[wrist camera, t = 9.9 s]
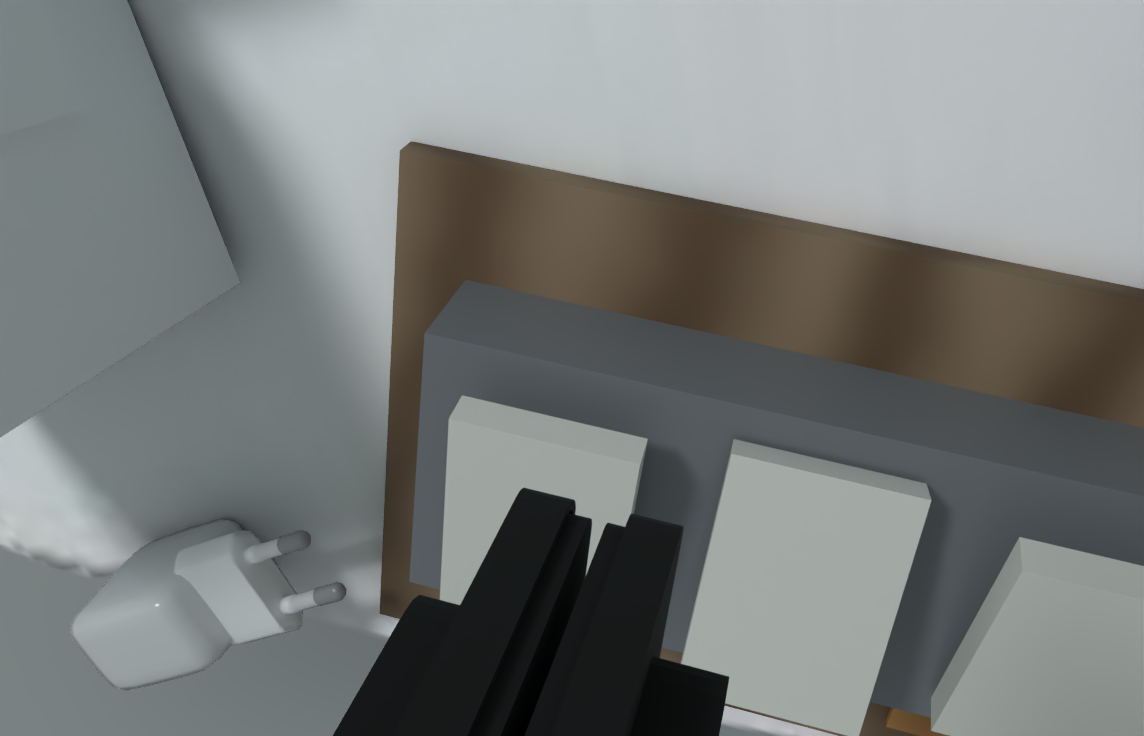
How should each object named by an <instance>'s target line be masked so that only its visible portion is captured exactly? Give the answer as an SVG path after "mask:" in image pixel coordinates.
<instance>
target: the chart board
mask: <svg viewBox="0 0 1144 736" xmlns="http://www.w3.org/2000/svg"><path fill="white" fill-rule="evenodd" d="M465 280H470V281H474V282H479V283H483V284H488V285H493V286H497V287H502V288H506V289H511V290H515V291H520V292H525V293H529V294H534V295H538V296H543V297H547V298H552V299H557V300H561V301H566V302H570V303H575V304H579V305H584V306H589V307H593V308H598V309H602V310H607V311H611V312H616V313H621V314H625V315H630V316H634V317H639V318H643V319H648V320H653V321H657V322H662V323H666V324H671V325H675V326H680V327H684V328H689V329H694V330H698V331H703V332H707V333H712V334H716V335H721V336H726V337H730V338H735V339H739V340H744V341H748V342H753V343H758V344H762V345H767V346H771V347H776V348H780V349H785V350H790V351H794V352H799V353H803V354H808V355H812V356H817V357H822V358H826V359H831V360H835V361H840V362H844V363H849V364H854V365H858V366H863V367H867V368H872V369H876V370H881V371H886V372H890V373H895V374H899V375H904V376H908V377H913V378H917V379H922V380H927V381H931V382H936V383H940V384H945V385H949V386H954V387H959V388H963V389H968V390H972V391H977V392H981V393H986V394H991V395H995V396H1000V397H1004V398H1009V399H1013V400H1018V401H1023V402H1027V403H1032V404H1036V405H1041V406H1045V407H1050V408H1055V409H1059V410H1064V411H1068V412H1073V413H1077V414H1082V415H1087V416H1091V417H1096V418H1100V419H1105V420H1109V421H1114V422H1119V423H1123V424H1128V425H1132V426H1137V427H1141V428H1144V289H1139V288H1134V287H1129V286H1124V285H1119V284H1114V283H1109V282H1104V281H1099V280H1094V279H1089V278H1084V277H1079V276H1074V275H1069V274H1064V273H1060V272H1055V271H1050V270H1045V269H1040V268H1035V267H1030V266H1025V265H1020V264H1015V263H1010V262H1005V261H1000V260H995V259H990V258H985V257H980V256H975V255H970V254H966V253H961V252H956V251H951V250H946V249H941V248H936V247H931V246H926V245H921V244H916V243H911V242H906V241H901V240H896V239H891V238H886V237H881V236H876V235H871V234H867V233H862V232H857V231H852V230H847V229H842V228H837V227H832V226H827V225H822V224H817V223H812V222H807V221H802V220H797V219H792V218H787V217H782V216H777V215H773V214H768V213H763V212H758V211H753V210H748V209H743V208H738V207H733V206H728V205H723V204H718V203H713V202H708V201H703V200H698V199H693V198H688V197H683V196H679V195H674V194H669V193H664V192H659V191H654V190H649V189H644V188H639V187H634V186H629V185H624V184H619V183H614V182H609V181H604V180H599V179H594V178H589V177H585V176H580V175H575V174H570V173H565V172H560V171H555V170H550V169H545V168H540V167H535V166H530V165H525V164H520V163H515V162H510V161H505V160H500V159H495V158H490V157H486V156H481V155H476V154H471V153H466V152H461V151H456V150H451V149H446V148H441V147H436V146H431V145H426V144H421V143H416V142H410V143H409V144H407V145H406V146H405V147H404V148H403V149H401V150H400V162H399V185H398V208H397V231H396V254H395V277H394V300H393V323H392V346H391V369H390V392H389V414H388V437H387V460H386V483H385V506H384V529H383V552H382V575H381V598H380V614H383V615H387V616H391V617H394V618H398V619H401V617H402V615H403V613H404V612H405V610H406V609H407V607H408V606H409V604H410V603H411V602H412V600H413V599H414V598H416V597H417V596H418V595H423V596H427V597H431V598H435V599H438V600H440V590H439V589H435V588H431V587H427V586H424V585H420V584H416V583H412V582H409V579H410V562H411V546H412V530H413V513H414V497H415V481H416V465H417V448H418V432H419V416H420V399H421V383H422V367H423V350H424V334H425V332H426V330H427V329H428V328H429V327H430V325H431V324H432V323H433V321H434V320H435V319H436V318H437V316H438V315H439V314H440V312H441V311H442V310H443V308H444V307H445V306H446V305H447V303H448V302H449V301H450V299H451V298H452V297H453V295H454V294H455V293H456V292H457V290H458V289H459V288H460V286H461V285H462V284H463V283H464V281H465ZM682 655H683V653H681V652H677V651H673V650H669V649H665V648H661V653H660V658H661V659H665V660H669V661H673V662H676V663H681V659H682ZM725 706H729V707H733V708H737V709H740V710H744V711H748V712H752V713H755V714H759V715H763V716H767V717H770V718H774V719H778V720H782V721H785V722H789V723H793V724H797V725H800V726H804V727H808V728H812V729H815V730H819V731H823V732H827V733H830V734H834V735H838V736H846V735H843V734H839V733H835V732H831V731H828V730H824V729H820V728H816V727H813V726H809V725H805V724H801V723H798V722H794V721H790V720H786V719H782V718H779V717H775V716H771V715H767V714H764V713H760V712H756V711H752V710H749V709H745V708H741V707H737V706H734V705H730V704H726V703H725ZM859 736H949V735H945V734H941V733H937V732H934V731H931V718H930V717H926V716H922V715H918V714H915V713H911V712H907V711H903V710H899V709H895V708H892V707H888V706H884V705H880V704H876V703H872V702H869V705H868V708H867V711H866V715H865V718H864V721H863V724H862V728H861V731H860V734H859Z"/></svg>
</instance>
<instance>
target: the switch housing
mask: <svg viewBox="0 0 1144 736" xmlns="http://www.w3.org/2000/svg"><path fill="white" fill-rule="evenodd" d="M462 395H463V396H467V397H472V398H476V399H480V400H484V401H489V402H493V403H497V404H502V405H506V406H510V407H514V408H519V409H523V410H527V411H531V412H536V413H540V414H544V415H548V416H553V417H557V418H561V419H566V420H570V421H574V422H578V423H583V424H587V425H591V426H595V427H600V428H604V429H608V430H613V431H617V432H621V433H625V434H630V435H634V436H638V437H642V438H647V439H648V441H647V446H646V451H645V457H644V462H643V467H642V473H641V478H640V483H639V489H638V494H637V499H636V505H635V510H634V514H635V515H640V516H644V517H648V518H652V519H656V520H660V521H664V522H669V523H673V524H677V525H681V526H683V527H684V528H683V535H682V541H681V547H680V552H679V557H678V563H677V568H676V573H675V579H674V584H673V589H672V595H671V600H670V605H669V611H668V616H667V621H666V627H665V632H664V637H663V643H662V648H665V649H669V650H673V651H677V652H681V653H683V651H684V646H685V642H686V638H687V634H688V630H689V625H690V621H691V617H692V613H693V608H694V604H695V600H696V596H697V592H698V587H699V583H700V579H701V575H702V570H703V566H704V562H705V558H706V554H707V549H708V545H709V541H710V537H711V533H712V528H713V524H714V520H715V516H716V511H717V507H718V503H719V499H720V495H721V490H722V486H723V482H724V478H725V473H726V469H727V465H728V461H729V457H730V452H731V448H732V444H733V440H734V439H736V440H741V441H745V442H749V443H754V444H758V445H762V446H767V447H771V448H775V449H780V450H784V451H788V452H792V453H797V454H801V455H805V456H810V457H814V458H818V459H823V460H827V461H831V462H836V463H840V464H844V465H849V466H853V467H857V468H862V469H866V470H870V471H874V472H879V473H883V474H887V475H892V476H896V477H900V478H905V479H909V480H913V481H918V482H922V483H926V484H927V487H928V490H929V494H930V497H931V504H930V507H929V510H928V513H927V517H926V520H925V523H924V526H923V530H922V533H921V536H920V539H919V543H918V546H917V549H916V552H915V556H914V559H913V562H912V565H911V569H910V572H909V575H908V578H907V582H906V585H905V588H904V591H903V595H902V598H901V601H900V604H899V608H898V611H897V614H896V617H895V621H894V624H893V627H892V630H891V634H890V637H889V640H888V643H887V647H886V650H885V653H884V656H883V660H882V663H881V666H880V669H879V673H878V676H877V679H876V682H875V685H874V689H873V692H872V695H871V698H870V702H872V703H876V704H880V705H884V706H888V707H892V708H895V709H899V710H903V711H907V712H911V713H915V714H918V715H922V716H926V717H930V718H931V697H932V695H933V693H934V691H935V690H936V688H937V686H938V684H939V682H940V681H941V679H942V677H943V675H944V673H945V671H946V670H947V668H948V666H949V664H950V662H951V661H952V659H953V657H954V655H955V653H956V651H957V650H958V648H959V646H960V644H961V642H962V641H963V639H964V637H965V635H966V633H967V631H968V630H969V628H970V626H971V624H972V622H973V621H974V619H975V617H976V615H977V613H978V611H979V610H980V608H981V606H982V604H983V602H984V601H985V599H986V597H987V595H988V593H989V591H990V590H991V588H992V586H993V584H994V582H995V581H996V579H997V577H998V575H999V573H1000V571H1001V570H1002V568H1003V566H1004V564H1005V562H1006V561H1007V559H1008V557H1009V555H1010V553H1011V551H1012V550H1013V548H1014V546H1015V544H1016V542H1017V541H1018V539H1019V537H1022V538H1026V539H1031V540H1035V541H1039V542H1043V543H1048V544H1052V545H1056V546H1060V547H1065V548H1069V549H1073V550H1077V551H1082V552H1086V553H1090V554H1094V555H1099V556H1103V557H1107V558H1111V559H1116V560H1120V561H1124V562H1128V563H1133V564H1137V565H1141V566H1144V428H1141V427H1137V426H1132V425H1128V424H1123V423H1119V422H1114V421H1109V420H1105V419H1100V418H1096V417H1091V416H1087V415H1082V414H1077V413H1073V412H1068V411H1064V410H1059V409H1055V408H1050V407H1045V406H1041V405H1036V404H1032V403H1027V402H1023V401H1018V400H1013V399H1009V398H1004V397H1000V396H995V395H991V394H986V393H981V392H977V391H972V390H968V389H963V388H959V387H954V386H949V385H945V384H940V383H936V382H931V381H927V380H922V379H917V378H913V377H908V376H904V375H899V374H895V373H890V372H886V371H881V370H876V369H872V368H867V367H863V366H858V365H854V364H849V363H844V362H840V361H835V360H831V359H826V358H822V357H817V356H812V355H808V354H803V353H799V352H794V351H790V350H785V349H780V348H776V347H771V346H767V345H762V344H758V343H753V342H748V341H744V340H739V339H735V338H730V337H726V336H721V335H716V334H712V333H707V332H703V331H698V330H694V329H689V328H684V327H680V326H675V325H671V324H666V323H662V322H657V321H653V320H648V319H643V318H639V317H634V316H630V315H625V314H621V313H616V312H611V311H607V310H602V309H598V308H593V307H589V306H584V305H579V304H575V303H570V302H566V301H561V300H557V299H552V298H547V297H543V296H538V295H534V294H529V293H525V292H520V291H515V290H511V289H506V288H502V287H497V286H493V285H488V284H483V283H479V282H474V281H470V280H465V281H464V283H463V284H462V285H461V286H460V288H459V289H458V290H457V292H456V293H455V294H454V295H453V297H452V298H451V299H450V301H449V302H448V303H447V305H446V306H445V307H444V308H443V310H442V311H441V312H440V314H439V315H438V316H437V318H436V319H435V320H434V321H433V323H432V324H431V325H430V327H429V328H428V329H427V330H426V332H425V334H424V350H423V367H422V383H421V399H420V416H419V432H418V448H417V465H416V481H415V497H414V513H413V530H412V546H411V562H410V579H409V582H412V583H416V584H420V585H424V586H427V587H431V588H435V589H439V590H440V584H441V564H442V544H443V524H444V504H445V484H446V464H447V444H448V424H449V418H450V416H451V414H452V412H453V410H454V409H455V407H456V405H457V403H458V402H459V400H460V398H461V396H462Z"/></svg>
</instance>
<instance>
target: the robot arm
mask: <svg viewBox="0 0 1144 736" xmlns="http://www.w3.org/2000/svg"><path fill="white" fill-rule="evenodd" d="M575 511H576V503H575V500H573V499H569V498H565V497H561V496H557V495H553V494H548V493H544V492H540V491H536V490H532V489H528V488H522V489H521V490H520V491H519V493H518V494H517V496H516V498H515V500H514V502H513V504H512V506H511V508H510V510H509V512H508V514H507V515H506V517H505V519H504V521H503V523H502V525H501V527H500V529H499V531H498V533H497V535H496V537H495V539H494V541H493V543H492V544H491V546H490V548H489V550H488V552H487V554H486V556H485V558H484V560H483V562H482V564H481V566H480V568H479V570H478V571H477V573H476V575H475V577H474V579H473V581H472V583H471V585H470V587H469V589H468V591H467V593H466V595H465V597H464V599H463V600H462V602H461V604H460V605H457V604H454V603H450V602H446V601H442V600H438V599H435V598H431V597H427V596H423V595H418V596H417V597H416V598H414V599H413V600H412V602H411V603H410V604H409V606H408V607H407V609H406V610H405V612H404V613H403V615H402V617H401V619H400V620H399V622H398V624H397V626H396V627H395V629H394V631H393V632H392V634H391V636H390V638H389V639H388V641H387V643H386V645H385V646H384V648H383V650H382V652H381V653H380V655H379V657H378V659H377V660H376V662H375V664H374V665H373V667H372V669H371V671H370V672H369V674H368V676H367V677H366V679H365V681H364V683H363V685H362V686H361V688H360V690H359V691H358V693H357V695H356V697H355V698H354V700H353V702H352V704H351V705H350V707H349V709H348V711H347V712H346V714H345V716H344V717H343V719H342V721H341V723H340V724H339V726H338V728H337V729H336V731H335V733H334V735H333V736H719V732H720V726H721V721H722V716H723V711H724V705H725V700H726V695H727V689H728V683H729V676H725V675H722V674H718V673H714V672H710V671H707V670H703V669H699V668H695V667H691V666H688V665H684V664H680V663H676V662H673V661H669V660H665V659H661V658H660V653H661V648H662V643H663V637H664V632H665V627H666V621H667V616H668V611H669V605H670V600H671V595H672V589H673V584H674V579H675V573H676V568H677V563H678V557H679V552H680V547H681V541H682V535H683V528H684V527H683V526H681V525H677V524H673V523H669V522H664V521H660V520H656V519H652V518H648V517H644V516H640V515H635V514H631V515H630V516H629V518H628V521H627V523H626V526H625V527H624V526H620V525H615V524H611V523H607V524H606V526H605V528H604V530H603V533H602V535H601V538H600V540H599V543H598V546H597V548H596V551H595V553H594V556H593V559H592V561H591V564H590V567H589V569H588V572H587V574H586V569H587V561H588V553H589V545H590V538H591V530H592V519H591V518H587V517H583V516H579V515H575Z"/></svg>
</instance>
